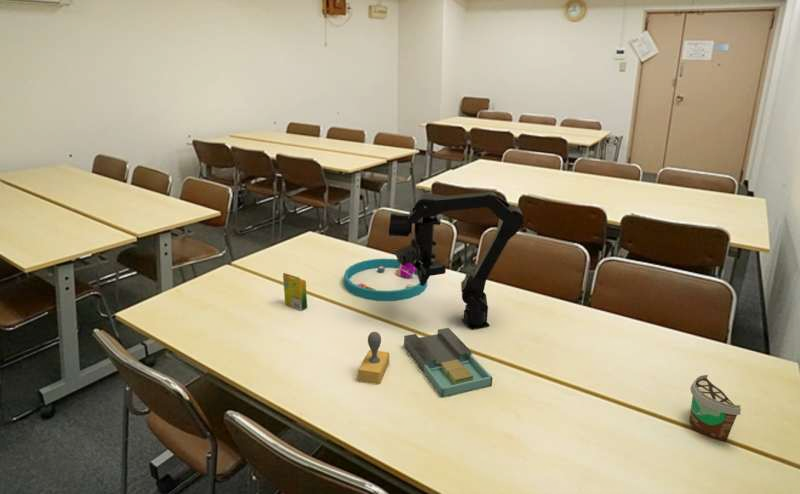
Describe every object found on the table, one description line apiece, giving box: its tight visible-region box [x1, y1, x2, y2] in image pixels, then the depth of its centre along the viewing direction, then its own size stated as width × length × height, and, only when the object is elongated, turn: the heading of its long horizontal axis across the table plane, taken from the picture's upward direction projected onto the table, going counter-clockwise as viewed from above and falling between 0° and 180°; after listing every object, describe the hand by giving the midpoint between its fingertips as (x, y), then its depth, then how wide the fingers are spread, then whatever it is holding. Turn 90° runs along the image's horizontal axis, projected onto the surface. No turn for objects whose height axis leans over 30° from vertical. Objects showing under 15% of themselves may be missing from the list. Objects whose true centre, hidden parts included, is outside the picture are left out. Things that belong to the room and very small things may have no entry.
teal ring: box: [343, 258, 428, 302], centre depth 190 cm, size 30×30×6 cm
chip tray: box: [423, 355, 493, 399], centre depth 135 cm, size 14×11×2 cm
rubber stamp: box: [357, 331, 390, 385], centre depth 136 cm, size 10×6×12 cm, turn 167°
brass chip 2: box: [448, 367, 473, 385], centre depth 134 cm, size 5×4×2 cm
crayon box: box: [282, 272, 308, 312], centre depth 170 cm, size 7×3×12 cm, turn 58°
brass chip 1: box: [440, 359, 465, 378], centre depth 138 cm, size 5×4×2 cm
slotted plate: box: [403, 327, 473, 374], centre depth 146 cm, size 14×14×4 cm
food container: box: [688, 374, 742, 441], centre depth 119 cm, size 12×6×10 cm, turn 5°
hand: (422, 285), depth 161 cm, fingers closed
